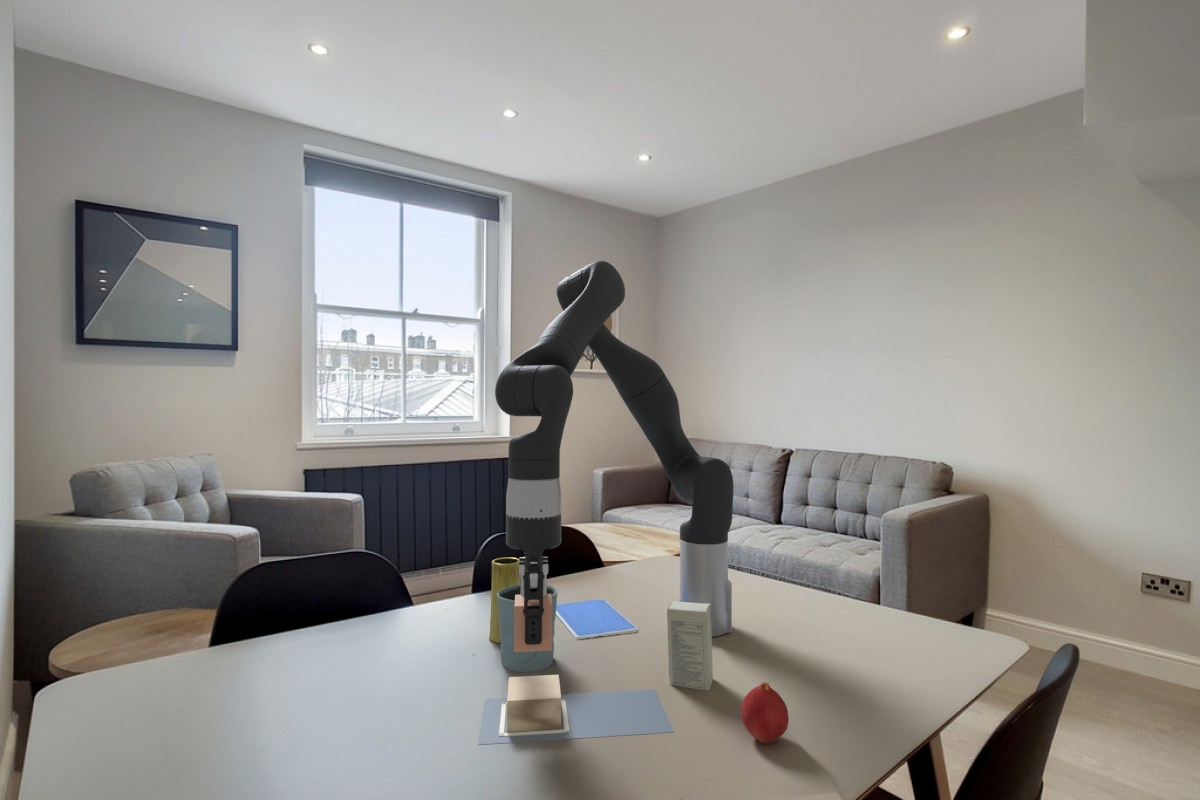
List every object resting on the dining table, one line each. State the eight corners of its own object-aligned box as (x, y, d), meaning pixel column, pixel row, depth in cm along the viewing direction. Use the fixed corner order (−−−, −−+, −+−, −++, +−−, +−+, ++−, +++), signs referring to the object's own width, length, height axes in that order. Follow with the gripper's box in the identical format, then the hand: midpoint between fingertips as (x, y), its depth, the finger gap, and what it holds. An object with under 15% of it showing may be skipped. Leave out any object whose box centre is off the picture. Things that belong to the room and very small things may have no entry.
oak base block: (558, 702, 85) (558, 674, 85) (561, 728, 78) (561, 697, 78) (508, 705, 84) (508, 677, 85) (507, 732, 78) (507, 700, 78)
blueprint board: (654, 693, 89) (654, 688, 89) (674, 736, 78) (674, 731, 78) (485, 702, 87) (485, 698, 87) (477, 749, 75) (477, 743, 75)
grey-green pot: (507, 681, 93) (508, 604, 94) (488, 658, 102) (488, 587, 103) (567, 668, 98) (567, 595, 98) (543, 647, 107) (543, 579, 107)
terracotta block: (550, 636, 84) (551, 593, 85) (552, 650, 79) (552, 605, 80) (515, 637, 84) (515, 594, 84) (514, 652, 79) (514, 606, 79)
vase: (525, 632, 114) (525, 557, 115) (518, 644, 108) (518, 565, 108) (494, 630, 115) (494, 556, 115) (485, 643, 109) (485, 564, 109)
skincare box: (713, 682, 93) (713, 603, 93) (709, 694, 89) (708, 612, 89) (672, 676, 95) (672, 599, 95) (666, 688, 91) (666, 607, 91)
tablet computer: (639, 634, 114) (639, 627, 115) (576, 643, 110) (576, 636, 110) (604, 604, 133) (604, 598, 133) (549, 610, 128) (549, 604, 128)
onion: (735, 732, 78) (735, 671, 79) (778, 730, 79) (777, 669, 79) (750, 758, 73) (749, 691, 73) (796, 756, 73) (795, 690, 73)
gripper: (564, 519, 75) (563, 656, 75) (558, 502, 90) (558, 617, 89) (503, 520, 74) (502, 658, 74) (508, 503, 89) (507, 618, 88)
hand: (533, 635), depth 82 cm, fingers closed on terracotta block, 5 cm apart
